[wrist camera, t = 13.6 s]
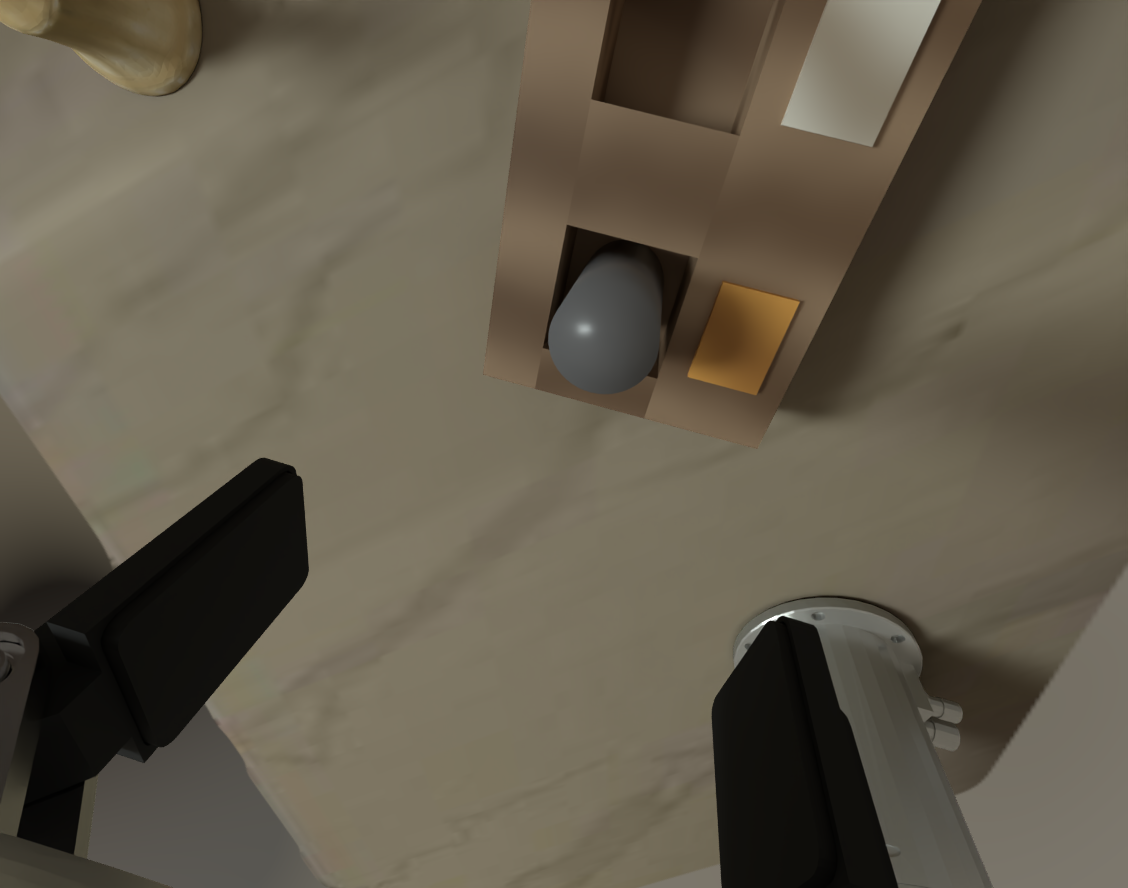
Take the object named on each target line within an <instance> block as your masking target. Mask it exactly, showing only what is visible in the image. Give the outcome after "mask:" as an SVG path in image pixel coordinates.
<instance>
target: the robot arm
mask: <svg viewBox="0 0 1128 888" xmlns="http://www.w3.org/2000/svg"><path fill="white" fill-rule="evenodd" d="M308 572H309V565H308V551H307V537H306V524H305V510H304V496H303V483H302V478H301V477H300V476H297V474H296V470H295V468H294V467H293V466H290V465H287V464H284V463H280V462H277V461H274V460H270V459H267V458H260V459H258V460H256V461H255V462H253V463H252V464H251V465H249V466H248V467H247V468H245V469H244V470H243V471H242V472H240V473H239V474H238V475H236V476H235V477H234V478H232V479H231V480H230V481H229V482H227V483H226V484H225V485H223V486H222V487H221V488H219V489H218V490H217V491H216V492H214V493H213V494H212V495H210V496H209V497H208V498H206V499H205V500H204V501H203V502H201V503H200V504H199V505H197V506H196V507H195V508H193V509H192V510H191V511H190V512H188V513H187V514H186V515H184V516H183V517H182V518H180V519H179V520H178V521H177V522H175V523H174V524H173V525H171V526H170V527H169V528H167V529H166V530H165V531H164V532H162V533H161V534H160V535H158V536H157V537H156V538H154V539H153V540H152V541H151V542H149V543H148V544H147V545H145V546H144V547H143V548H141V549H140V550H139V551H138V552H136V553H135V554H134V555H132V556H131V557H130V558H128V559H127V560H126V561H125V562H123V563H122V564H121V565H119V566H118V567H117V568H115V569H114V570H113V571H112V572H110V573H109V574H108V575H107V576H105V577H104V578H102V579H101V580H100V581H99V582H97V583H96V584H95V585H93V586H92V587H91V588H89V589H88V590H87V591H86V592H84V593H83V594H82V595H80V596H79V597H78V598H76V599H75V600H74V601H73V602H71V603H70V604H69V605H68V606H66V607H65V608H63V609H62V610H61V611H60V612H58V613H57V614H56V615H54V616H53V617H52V618H50V619H49V620H48V621H47V622H46V623H44V624H43V625H42V626H40V627H39V628H38V629H36V630H35V631H33V630H32V629H30V628H28V627H26V626H23V625H21V624H16V623H5V622H0V888H173V887H170V886H167V885H164V884H160V883H158V882H155V881H152V880H149V879H146V878H143V877H140V876H137V875H134V874H131V873H128V872H125V871H123V870H120V869H116V868H114V867H110V866H107V865H104V864H101V863H98V862H94V861H91V860H88V859H87V855H88V847H89V840H90V832H91V825H92V817H93V810H94V802H95V795H96V787H97V780H98V773H99V772H100V771H101V770H102V769H103V768H104V767H105V766H106V765H107V763H108V762H109V761H110V760H111V759H112V758H113V757H114V756H115V755H116V754H119V755H121V756H125V757H127V758H131V759H133V760H136V761H139V762H142V763H145V761H146V760H147V759H148V758H149V757H150V756H151V755H152V754H153V752H154V751H155V750H156V748H158V747H164V746H167V745H168V744H169V743H171V742H172V741H173V740H174V739H175V738H176V737H177V736H178V735H179V734H180V732H181V731H182V730H183V729H184V727H185V726H186V725H187V724H188V723H189V721H190V720H191V719H192V718H193V717H194V716H195V714H196V713H197V712H198V711H199V710H200V708H201V707H202V706H203V705H204V704H205V702H206V701H207V700H208V699H209V698H210V696H211V695H212V694H213V693H214V692H215V690H216V689H217V688H218V687H219V686H220V684H221V683H222V682H223V681H224V680H225V678H226V677H227V676H228V675H229V674H230V672H231V671H232V670H233V669H234V668H235V666H236V665H237V664H238V663H239V662H240V660H241V659H242V658H243V657H244V656H245V654H246V653H247V652H248V651H249V650H250V648H251V647H252V646H253V645H254V644H255V642H256V641H257V640H258V639H259V638H260V636H261V635H262V634H263V633H264V632H265V630H266V629H267V628H268V627H269V626H270V624H271V623H272V622H273V621H274V620H275V618H276V617H277V616H278V615H279V614H280V612H281V611H282V610H283V609H284V608H285V606H286V605H287V604H288V603H289V602H290V600H291V599H292V598H293V597H294V596H295V594H296V593H297V592H298V591H299V590H300V588H301V587H302V586H303V584H304V582H305V581H306V578H307V576H308ZM733 660H734V667H735V669H734V671H733V672H732V674H731V675H730V677H729V678H728V679H727V681H726V682H725V684H724V685H723V687H722V688H721V690H720V691H719V693H718V694H717V696H716V697H715V700H714V703H713V707H712V730H713V747H714V764H715V781H716V798H717V816H718V833H719V850H720V866H721V884H722V888H993V886H992V883H991V881H990V878H989V876H988V874H987V871H986V869H985V866H984V864H983V862H982V859H981V857H980V854H979V852H978V850H977V848H976V845H975V843H974V841H973V838H972V836H971V833H970V831H969V828H968V826H967V824H966V821H965V819H964V817H963V814H962V812H961V809H960V807H959V805H958V802H957V800H956V797H955V795H954V793H953V790H952V788H951V786H950V783H949V781H948V778H947V776H946V774H945V771H944V769H943V766H942V764H941V762H940V759H939V757H938V755H937V752H936V750H935V747H938V748H942V749H945V750H949V751H955V750H957V749H958V747H959V745H960V733H959V730H958V728H957V727H956V725H955V724H957V723H960V721H961V720H962V716H963V712H962V708H961V706H960V705H959V704H958V703H956V702H953V701H949V700H946V699H942V698H939V697H932V696H929V695H928V694H927V692H925V691H924V689H923V687H922V684H921V682H920V680H919V677H920V674H921V671H922V660H923V657H922V654H921V651H920V648H919V646H918V644H917V642H916V640H915V638H914V636H913V634H912V632H911V631H910V630H909V628H908V627H907V626H906V625H905V624H904V623H903V622H902V621H901V620H899V619H898V618H896V617H895V616H894V615H892V614H891V613H889V612H887V611H885V610H883V609H880V608H878V607H876V606H874V605H870V604H867V603H863V602H860V601H856V600H849V599H841V598H810V599H801V600H796V601H792V602H788V603H784V604H781V605H779V606H776V607H773V608H771V609H768V610H766V611H765V612H763V613H761V614H760V615H758V616H756V617H755V618H753V619H752V620H751V621H750V622H749V623H748V624H747V625H745V626H744V628H743V629H742V630H741V632H740V633H739V634H738V636H737V638H736V641H735V644H734V648H733ZM932 716H934V717H932ZM954 723H955V724H954ZM934 746H935V747H934Z"/></svg>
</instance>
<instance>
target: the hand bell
mask: <svg viewBox="0 0 1128 888" xmlns="http://www.w3.org/2000/svg"><path fill="white" fill-rule="evenodd" d="M0 21H1V22H2V23H3V24H5V25H6V26H8V27H10V28H12V29H14V30H17V31H19V32H22V33H25V34H28V35H32V36H36V37H40V38H44V39H47V40H51V41H54V42H57V43H59V44H62V45H65V46H68V47H70V48H72V49H73V50H74V52H75V53H76V54H77V55H78V56H79V57H80V58H81V59H82V60H83V61H85V62H86V63H87V64H88V65H89V66H90V67H91V68H93V69H94V70H95V71H96V72H98V73H99V74H100V75H102V76H103V77H105V78H106V79H107V80H109V81H111V82H112V83H114V84H116V85H118V86H119V87H121V88H123V89H126V90H128V91H131V92H133V93H137V94H141V95H147V96H160V95H165V94H169V93H172V92H174V91H176V90H178V89H179V88H180V87H181V86H182V85H183V84H185V83H186V82H187V80H188V79H189V78H190V76H191V75H192V73H193V71H194V69H195V67H196V64H197V62H198V59H199V54H200V49H201V42H202V23H201V12H200V7H199V1H198V0H0Z"/></svg>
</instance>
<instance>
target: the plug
mask: <svg viewBox="0 0 1128 888" xmlns="http://www.w3.org/2000/svg"><path fill="white" fill-rule="evenodd" d="M663 285H664V274H663V269H662V266H661V263H660V261H659V259H658V257H657V256H656V254H655V253H654V252H653V251H652V250H651V249H650V248H649V247H647V246H646V245H644V244H641V243H637V242H633V241H629V240H625V239H622V240H616V241H612V242H610V243H607V244H605V245H604V246H602V247H601V248H600V249H598V250H597V251H596V252H595V253H594V255H593V256H592V257H591V259H590V260H589V262H588V264H587V265H586V267H585V268H584V270H583V271H582V273H581V274H580V276H579V277H578V279H577V281H576V282H575V284H574V285H573V287H572V288H571V290H570V291H569V293H568V295H567V296H566V298H565V299H564V301H563V302H562V304H561V305H560V307H559V309H558V310H557V312H556V313H555V315H554V317H553V319H552V322H551V325H550V328H549V335H548V344H549V351H550V354H551V357H552V360H553V362H554V364H555V366H556V368H557V369H558V370H559V372H560V373H561V374H562V375H563V376H564V377H565V378H566V379H567V380H568V381H569V382H570V383H572V384H573V385H575V386H576V387H578V388H580V389H582V390H585V391H588V392H591V393H596V394H614V393H619V392H623V391H625V390H628V389H630V388H632V387H634V386H635V385H637V384H638V383H640V382H641V381H642V380H643V379H644V378H645V377H646V376H647V375H648V374H649V372H650V371H651V369H652V368H653V366H654V364H655V361H656V359H657V355H658V351H659V341H660V327H661V313H662V299H663Z"/></svg>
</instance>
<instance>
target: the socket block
mask: <svg viewBox="0 0 1128 888" xmlns="http://www.w3.org/2000/svg"><path fill="white" fill-rule="evenodd" d="M981 2H982V0H531V6H530V14H529V21H528V29H527V37H526V45H525V52H524V60H523V68H522V76H521V84H520V91H519V99H518V107H517V115H516V122H515V130H514V138H513V146H512V153H511V161H510V169H509V177H508V184H507V192H506V200H505V208H504V216H503V223H502V231H501V239H500V247H499V254H498V262H497V270H496V278H495V285H494V293H493V301H492V309H491V317H490V324H489V332H488V340H487V348H486V355H485V363H484V371H483V375H486V376H490V377H494V378H497V379H501V380H505V381H509V382H512V383H516V384H520V385H523V386H527V387H531V388H534V389H538V390H542V391H545V392H549V393H553V394H556V395H560V396H564V397H568V398H571V399H575V400H579V401H582V402H586V403H590V404H593V405H597V406H601V407H604V408H608V409H612V410H615V411H619V412H623V413H627V414H630V415H634V416H638V417H641V418H645V419H649V420H652V421H656V422H660V423H663V424H667V425H671V426H674V427H678V428H682V429H685V430H689V431H693V432H697V433H700V434H704V435H708V436H711V437H715V438H719V439H722V440H726V441H730V442H733V443H737V444H741V445H744V446H748V447H752V448H756V449H757V448H758V446H759V444H760V442H761V440H762V438H763V436H764V434H765V433H766V431H767V429H768V427H769V425H770V423H771V421H772V419H773V417H774V415H775V413H776V411H777V409H778V407H779V405H780V403H781V401H782V399H783V397H784V395H785V393H786V391H787V389H788V387H789V385H790V383H791V381H792V379H793V377H794V375H795V373H796V371H797V369H798V367H799V365H800V363H801V361H802V359H803V357H804V355H805V353H806V351H807V349H808V347H809V345H810V343H811V341H812V339H813V337H814V335H815V333H816V331H817V329H818V327H819V325H820V323H821V321H822V319H823V317H824V315H825V313H826V311H827V309H828V307H829V305H830V303H831V301H832V299H833V297H834V295H835V293H836V291H837V289H838V287H839V285H840V283H841V281H842V279H843V277H844V275H845V273H846V271H847V269H848V267H849V265H850V263H851V261H852V259H853V257H854V255H855V253H856V251H857V249H858V247H859V245H860V243H861V241H862V239H863V237H864V235H865V233H866V231H867V229H868V227H869V225H870V223H871V221H872V219H873V217H874V215H875V213H876V211H877V209H878V207H879V205H880V203H881V201H882V199H883V197H884V195H885V193H886V191H887V189H888V187H889V185H890V183H891V181H892V179H893V177H894V175H895V173H896V171H897V169H898V167H899V165H900V163H901V161H902V159H903V157H904V155H905V153H906V151H907V150H908V148H909V146H910V144H911V142H912V140H913V138H914V136H915V134H916V132H917V130H918V128H919V126H920V124H921V122H922V120H923V118H924V116H925V114H926V112H927V110H928V108H929V106H930V104H931V102H932V100H933V98H934V96H935V94H936V92H937V90H938V88H939V86H940V84H941V82H942V80H943V78H944V76H945V74H946V72H947V70H948V68H949V66H950V64H951V62H952V60H953V58H954V56H955V54H956V52H957V50H958V48H959V46H960V44H961V42H962V40H963V38H964V36H965V34H966V32H967V30H968V28H969V26H970V24H971V22H972V20H973V18H974V16H975V14H976V12H977V10H978V8H979V6H980V4H981ZM622 239H625V240H629V241H633V242H637V243H641V244H644V245H646V246H647V247H649V248H650V249H651V250H652V251H653V252H654V253H655V254H656V256H657V257H658V259H659V261H660V263H661V266H662V269H663V274H664V285H663V299H662V313H661V327H660V341H659V351H658V355H657V359H656V361H655V364H654V366H653V368H652V369H651V371H650V372H649V374H648V375H647V376H646V377H645V378H644V379H643V380H642V381H641V382H640V383H638V384H637V385H635V386H634V387H632V388H630V389H628V390H625V391H623V392H619V393H614V394H596V393H591V392H588V391H585V390H582V389H580V388H578V387H576V386H575V385H573V384H572V383H570V382H569V381H568V380H567V379H566V378H565V377H564V376H563V375H562V374H561V373H560V372H559V370H558V369H557V368H556V366H555V364H554V362H553V360H552V357H551V354H550V351H549V344H548V335H549V328H550V325H551V322H552V319H553V317H554V315H555V313H556V312H557V310H558V309H559V307H560V305H561V304H562V302H563V301H564V299H565V298H566V296H567V295H568V293H569V291H570V290H571V288H572V287H573V285H574V284H575V282H576V281H577V279H578V277H579V276H580V274H581V273H582V271H583V270H584V268H585V267H586V265H587V264H588V262H589V260H590V259H591V257H592V256H593V255H594V253H595V252H596V251H597V250H598V249H600V248H601V247H602V246H604V245H605V244H607V243H610V242H612V241H616V240H622Z"/></svg>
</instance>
